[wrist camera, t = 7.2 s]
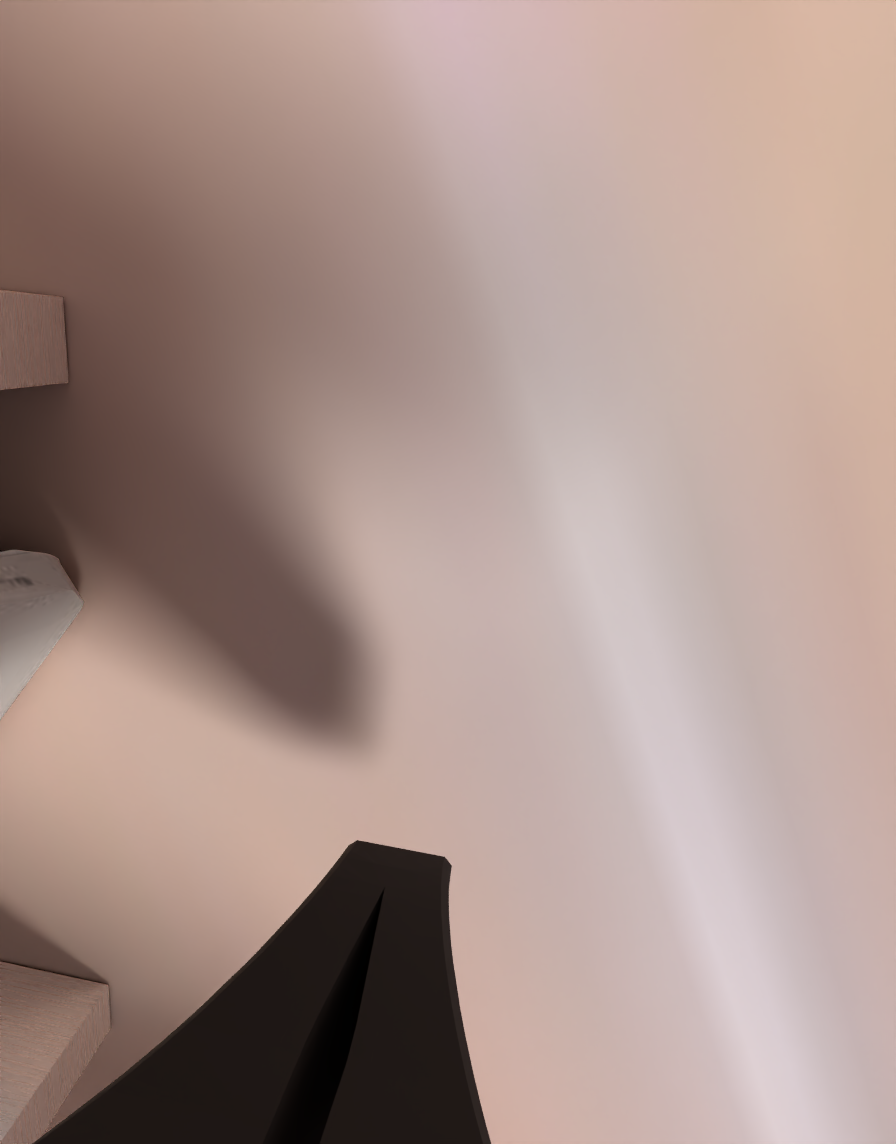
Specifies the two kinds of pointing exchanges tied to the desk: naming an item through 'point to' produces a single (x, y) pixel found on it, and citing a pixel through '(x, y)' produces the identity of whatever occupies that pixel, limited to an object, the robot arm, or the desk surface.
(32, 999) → the bracket
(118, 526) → the desk surface
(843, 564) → the desk surface
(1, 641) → the electrical switch
